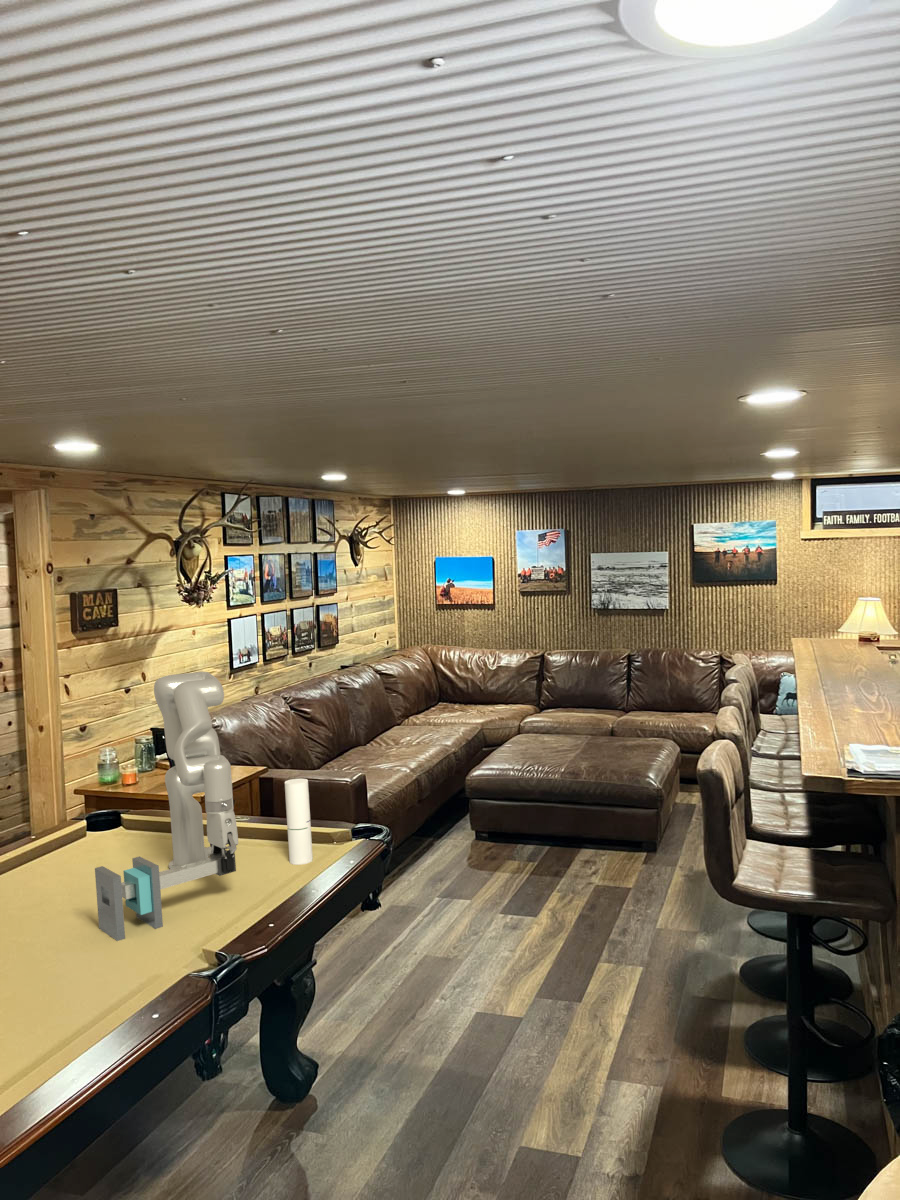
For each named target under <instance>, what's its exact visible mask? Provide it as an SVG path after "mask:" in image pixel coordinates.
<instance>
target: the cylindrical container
mask: <svg viewBox="0 0 900 1200" xmlns="http://www.w3.org/2000/svg"><path fill="white" fill-rule="evenodd" d="M284 792H285V795H284V796H285V797H284V798H285V810H286V824H287V825H286V826H287V840H288V841H287V842H288V858H289V859H288V860H289V863H290V864H291V865H294V866H295V865H297V866H298V865H300V866H301V865H307V864H309V863H311V862H313V857H314V856H313V844H312V842H313V840H312V828H311V827H312V826H311V825H312V824H311V810H310V792H309V780H308V779H307V778H292V779H288V780H285V781H284Z"/></svg>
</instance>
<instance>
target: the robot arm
mask: <svg viewBox="0 0 900 1200" xmlns="http://www.w3.org/2000/svg"><path fill="white" fill-rule="evenodd" d="M153 693H154V699H155V702H156V704H157V707H158V709H159V711H160V713H161V716H162V721H163V729H164V737H165V746H166V747H165V748H166V752H167V755H168V758H169V759H171V761H172V760H173V762H174V764H175V765H174V766H172V767H171V768H169V769H167V771H166V772H165V775H164V782H165V783H164V784H165V787H166V792H167V797H168V803H169V804H168V805H169V812H170V828H171V845H172V855H173V856H172V857H173V859H172V860H171V861H169V862H168V868H169V869H172V868H176V867H179V866H183V865H187V864H190V863H194V862H197V861H201V860H205V859H208V858H210V854H213V853H217V852H221V851H222V853H223V858H224V859H222V866H223V873H228V872H232V871H234V853H235V854H236V851H237V846H238V845H239V835H238V826H237V821H236V815H235V811H234V797H233V796H234V795H233V779H232V767H231V766H232V765H231V763H230V762H229V760H228V759H227V758H226V756H225V755H222V754H221V747H220V741H219V737H218V736H219V735H218V733H217V731H216V729H215V728H213V721H212V719H211V715H210V712H209V708H211V707H218V706H220V705H222V704H223V702H224V700H225V692H224V687H223V685H222V683H221V682H220V680H219V679H218V678H217V677H216V676H214V674H211V672H208V671H198V672H197V671H196V672H189V673H188V672H187V673H178V674H177V673H176V674H175V673H174V674H169V675H164V676H162V677H159V678H158V679H156V680H155V682H154V685H153ZM201 793H204V803H205V804H204V805H205V813H206V837H207V842H208V843H209V846H207V847H206V846H205V835H204V822H203V821H204V820H203V809H202V805H201V804H200V802H199V801H198V800H197V799H196V798H194V797H193V795H196V794H201ZM226 850H227V853H226ZM232 873H233V872H232ZM228 874H229V873H228Z"/></svg>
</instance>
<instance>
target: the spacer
mask: <svg viewBox="0 0 900 1200" xmlns="http://www.w3.org/2000/svg"><path fill="white" fill-rule="evenodd" d="M125 881H130V882H132V883H134V884H136V897H133V898H130V899H124V900H125V906H126V907H127V908H129V909H131V910H132V911H134V912H135V913H136V912H137V913H138V914H140V915H143V914H146V913H149V912H152V903H151V889H150V875H148V874H146V873H144V872H142V871H140V870H138V869H136V868H133V867H131V868H129V869H128V868H127V869H124V870H123V882H125Z"/></svg>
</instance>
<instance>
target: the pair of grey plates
mask: <svg viewBox="0 0 900 1200" xmlns="http://www.w3.org/2000/svg"><path fill="white" fill-rule="evenodd" d="M131 862H132V868H136V869H138V870H140V871H142V872H144V873H146V874H148V875H150V889H151V903H152V912H149V913H146V914H143V915H140V914H138V913H137V912H135V916H136V918H137V919H138V920H141V922H144V923H145V924H146V925H149V926H150V927H152V928H153V929H155V930H157V929H160V928H163V927H164V921H163V920H164V919H163V907H162V895H161V894H162V893H161V890H160V876H159V872H160V866H159V865H158V864H156V863H154V862H153V861H150V860H148V859H146V858H144V857H141V856H136V857H132V861H131ZM94 874H95V877H94V878H95V889H96V890H95V891H96V892H95V893H96V903H97V904H96V905H97V915H98V916H97V917H98V918H97V921H98V929H99V930H100V929H101V930H100V931H102V932H103V933H104V934H106V935H108V937H110V938H112V939H114V940H115V941H117V942H119V941H122V940H125V939H126V931H125V930H126V929H125V917H124V902H123V901H124V900H123V897H122V886H121V883H122V876H121V875H120V874H118V873H116V872H115V871H113V870H110V869H109V868H107V867H105V866H102V865H101V866H96V867H94Z"/></svg>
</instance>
